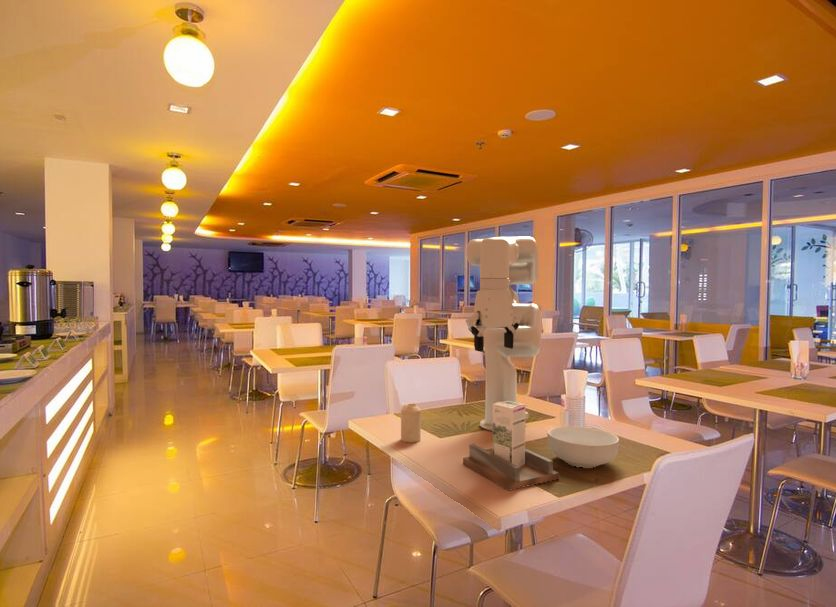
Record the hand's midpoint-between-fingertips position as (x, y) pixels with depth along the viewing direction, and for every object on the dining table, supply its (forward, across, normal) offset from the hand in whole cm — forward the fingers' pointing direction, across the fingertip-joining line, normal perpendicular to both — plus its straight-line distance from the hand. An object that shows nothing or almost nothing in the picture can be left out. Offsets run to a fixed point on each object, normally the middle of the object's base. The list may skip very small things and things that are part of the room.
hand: (494, 349), depth 133 cm
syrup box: (+24, +8, +16) cm, 30 cm away
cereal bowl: (+27, -12, +20) cm, 35 cm away
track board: (+26, +8, +16) cm, 31 cm away
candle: (+27, +17, -16) cm, 36 cm away
